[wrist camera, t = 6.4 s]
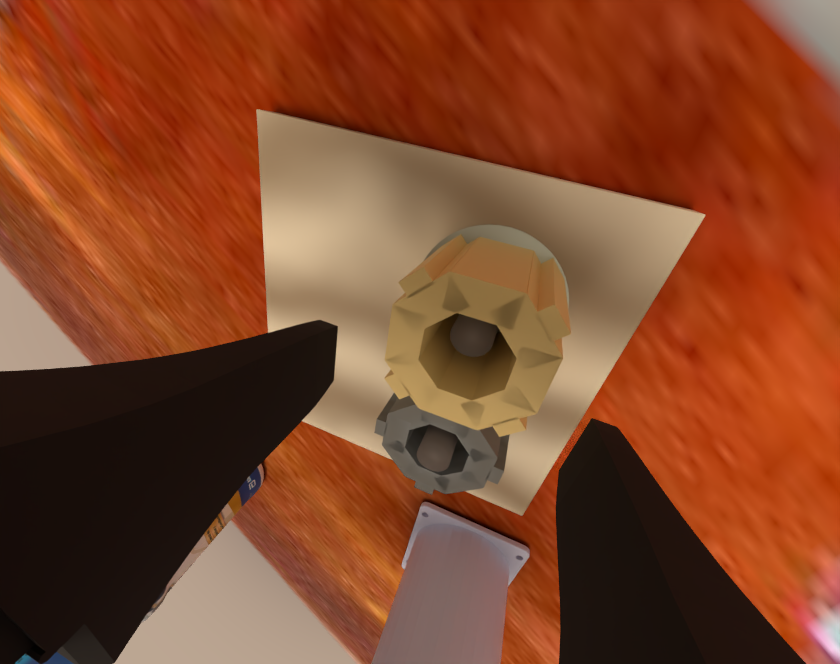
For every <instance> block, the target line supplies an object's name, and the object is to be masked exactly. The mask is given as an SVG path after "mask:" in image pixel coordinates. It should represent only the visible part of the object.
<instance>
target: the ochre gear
mask: <svg viewBox="0 0 840 664" xmlns="http://www.w3.org/2000/svg"><path fill="white" fill-rule="evenodd" d="M398 283H399V284H400V286H401V288H402V289H403V291H404V292H405V293H404V294H403V295H402V296H401V297H400V298H399V299H398V300H397V301H396V302H395V303H393V305H392V311H391V318H390V325H389V332H388V339H387V346H386V353H385V362H386V363H387V365H388V366H389V367H390V369H391V370H390V371H389V372H388V374H387V375H386V376H385V378H384V379H385V380H386V382H387V383H388V385H389V386H390V387H391V389H392V390H393V391H394V393H395V394H396V396H397V397H398V398H399V399H402V398H404V397H407V396H410V397H411V398H412V400H413V401H414V403H415V404H416V406H417V407H418V408H419V409H421V410H424V411H427V412H429V413H432V414H435V415H437V416H440V417H443V418H445V419H448V420H451V421H453V422H456V423H459V424H461V425H464V426H467V427H469V428H472V429H475V430H480V429H484V428H488V427H491V426H493V428H494V429H495V431H496V432H497V434H498V436H499V437H501V436H505V435H509V434H513V433H517V432H521V431H525V430H526V426H527V417H528V416H531V415H535V414H536V413H537V412H538V410H539V408H540V406H541V404H542V402H543V400H544V398H545V396H546V394H547V391H548V389H549V387H550V385H551V383H552V381H553V379H554V377H555V375H556V373H557V370H558V368H559V366H560V364H561V362H562V360H563V349H562V338H563V337H565V336H568V335H570V334H571V329H570V320H569V312H568V304H567V295H566V287H565V279H564V277H563V275H562V273H561V271H560V270H559V268H558V266H557V264H556V262H555V260H554V258H552V259H550V260H548V261H546V262H544V263H542V264H541V262H540V261H539V259H538V257H537V255H536V253H535V251H534V250H530V249H526V248H522V247H519V246H515V245H511V244H507V243H503V242H499V241H495V240H491V239H487V238H483V237H478V238H477V239H475V240H473V241H472V242H470V243H468V244H467V243H466V241H465V240H464V238H463V236H462V235H461V234H460V235H459V236H457V237H455V238H454V239H452V240H451V241H449V242H447V243H446V244H444V245H443V246H441V247H440V248H439V249H438V250H436V251H435V252H434V253H433V254H432V255H430V256H429V257H428V258H427V259H426V260H424V261H423V262H422V263H421V264H420V265H418V266H417V267H416V268H415V269H414V270H412V271H411V272H410V273H409V274H408V275H406V276H405V277H404V278H403V279H402V280H400V281H399V282H398ZM459 314H462V315H465V316H468V317H472V318H475V319H478V320H481V321H485V322H488V323H491V324H494V325H497V326H498V328H499V330H500V331H501V332H499V333H497V334H496V336H495V339H494V342H493V346H492V348H491V349H490V350H489V351H488V352H487V353H486V354H484V355H482V356H478V357H470V356H466V355H463V354H461V353H460V352H458V351H457V350H456V349H455V348H454V346H453V345H452V343H451V339H450V331H451V328H452V326H453V325H454V323H455V321H456V319H457V318H458V316H459Z"/></svg>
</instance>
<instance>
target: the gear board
mask: <svg viewBox="0 0 840 664" xmlns="http://www.w3.org/2000/svg"><path fill="white" fill-rule="evenodd" d="M257 126H258V146H259V165H260V184H261V204H262V223H263V242H264V262H265V281H266V300H267V320H268V333H269V332H273V331H277V330H280V329H284V328H287V327H291V326H295V325H299V324H302V323H306V322H311V321H315V320H322V321H325V322H328V323H331V324H333V325H336V326H338V334H337V347H336V360H335V373H334V381H333V383H332V384H331V385H330V387H329V388H328V390H327V391H326V393H325V394H324V395H323V397H322V398H321V399H320V401H319V402H318V403H317V405H316V406H315V407H314V408H313V409H312V410H311V412H310V413H309V414H308V415H307V416H306V417H305V418H304V419H303V420H302V421H303V422H306V423H308V424H310V425H313V426H315V427H317V428H319V429H322V430H324V431H326V432H329V433H331V434H333V435H336V436H338V437H340V438H343V439H345V440H347V441H350V442H352V443H354V444H357V445H359V446H361V447H364V448H366V449H368V450H370V451H373V452H375V453H377V454H380V455H382V456H384V457H387V458H389V459H391V460H393V461H394V462H395V464H396V465H397V466H398V468H399V469H400V470H401V472H402V473H403V474H404V476H405V477H407V478H410V479H412V480H414V481H416V483H415V486H414V487H415V488H417V489H420V490H422V491H424V492H426V493H429V494H431V495H432V493H433V490H434V489H435V490H437V491H439V492H441V493H444V494H449V493H456V492H462V491H465V492H468V493H470V494H472V495H475V496H477V497H479V498H482V499H484V500H486V501H489V502H491V503H493V504H496V505H498V506H500V507H503V508H505V509H507V510H509V511H512V512H514V513H516V514H519V515H521V516H522V515H523V514H524V512H525V510H526V509H527V507H528V506H529V504H530V502H531V501H532V499H533V497H534V496H535V494H536V492H537V491H538V489H539V488H540V486H541V484H542V483H543V481H544V479H545V478H546V476H547V474H548V473H549V471H550V470H551V468H552V466H553V465H554V463H555V461H556V460H557V458H558V456H559V455H560V453H561V451H562V450H563V448H564V447H565V445H566V443H567V442H568V440H569V438H570V437H571V435H572V433H573V432H574V430H575V429H576V427H577V425H578V424H579V422H580V420H581V419H582V417H583V415H584V414H585V412H586V410H587V409H588V407H589V406H590V404H591V402H592V401H593V399H594V397H595V396H596V394H597V392H598V391H599V389H600V388H601V386H602V384H603V383H604V381H605V379H606V378H607V376H608V374H609V373H610V371H611V370H612V368H613V366H614V365H615V363H616V361H617V360H618V358H619V356H620V355H621V353H622V351H623V350H624V348H625V347H626V345H627V343H628V342H629V340H630V338H631V337H632V335H633V333H634V332H635V330H636V329H637V327H638V325H639V324H640V322H641V320H642V319H643V317H644V315H645V314H646V312H647V310H648V309H649V307H650V306H651V304H652V302H653V301H654V299H655V297H656V296H657V294H658V292H659V291H660V289H661V288H662V286H663V284H664V283H665V281H666V279H667V278H668V276H669V274H670V273H671V271H672V270H673V268H674V266H675V265H676V263H677V261H678V260H679V258H680V256H681V255H682V253H683V251H684V250H685V248H686V247H687V245H688V243H689V242H690V240H691V238H692V237H693V235H694V233H695V232H696V230H697V229H698V227H699V225H700V224H701V222H702V220H703V219H704V217H705V214H702V213H700V212H697V211H694V210H691V209H687V208H682V207H678V206H674V205H670V204H665V203H661V202H657V201H653V200H648V199H644V198H640V197H635V196H631V195H627V194H623V193H618V192H614V191H610V190H606V189H601V188H597V187H593V186H588V185H584V184H580V183H576V182H571V181H567V180H563V179H559V178H554V177H550V176H546V175H541V174H537V173H533V172H529V171H524V170H520V169H516V168H512V167H507V166H503V165H499V164H494V163H490V162H486V161H482V160H477V159H473V158H469V157H465V156H460V155H456V154H452V153H447V152H443V151H439V150H435V149H430V148H426V147H422V146H418V145H413V144H409V143H405V142H401V141H396V140H392V139H388V138H383V137H379V136H375V135H371V134H366V133H362V132H358V131H354V130H349V129H345V128H341V127H336V126H332V125H328V124H324V123H319V122H315V121H311V120H307V119H302V118H298V117H294V116H289V115H285V114H281V113H277V112H271V111H265V110H258V109H257ZM460 234H461V235H462V236H463V238H464V240H465V241H466V243H467V244H468V243H470V242H472V241H473V240H475V239H477V238H478V237H483V238H487V239H491V240H495V241H499V242H503V243H507V244H511V245H515V246H519V247H522V248H526V249H530V250H534V251H535V253H536V255H537V257H538V259H539V261H540V262H541V264H542V263H544V262H546V261H548V260H550V259H552V258H554V260H555V262H556V264H557V266H558V268H559V270H560V271H561V273H562V275H563V277H564V279H565V287H566V295H567V304H568V312H569V320H570V329H571V334H570V335H568V336H565V337H563V338H562V349H563V360H562V362H561V364H560V366H559V368H558V370H557V373H556V375H555V377H554V379H553V381H552V383H551V385H550V387H549V389H548V391H547V394H546V396H545V398H544V400H543V402H542V404H541V406H540V408H539V410H538V412H537V413H536V414H535V415H531V416H528V417H527V426H526V430H525V431H521V432H517V433H513V434H509V435H505V436H501V437H499V436H498V434H497V432H496V431H495V429H494V428H493V426H491V427H488V428H484V429H480V430H475V429H472V428H469V427H467V426H464V425H461V424H459V423H456V422H453V421H451V420H448V419H445V418H443V417H440V416H437V415H435V414H432V413H429V412H427V411H424V410H421V409H419V408H418V407H417V406H416V404H415V403H414V401H413V400H412V398H411V397H410V396H407V397H404V398H402V399H399V398H398V397H397V396H396V394H395V393H394V391H393V390H392V389H391V387H390V386H389V385H388V383H387V382H386V380H385V379H384V378H385V376H386V375H387V374H388V372H389V371H390V370H391V369H390V367H389V366H388V365H387V363H386V362H385V353H386V346H387V339H388V332H389V325H390V318H391V311H392V305H393V303H395V302H396V301H397V300H398V299H399V298H400V297H401V296H402V295H403V294H404V293H405V292H404V291H403V289H402V288H401V286H400V284H399V283H398V282H399V281H400V280H402V279H403V278H404V277H405V276H406V275H408V274H409V273H410V272H411V271H412V270H414V269H415V268H416V267H417V266H418V265H420V264H421V263H422V262H423V261H424V260H426V259H427V258H428V257H429V256H430V255H432V254H433V253H434V252H435V251H436V250H438V249H439V248H440V247H441V246H443V245H444V244H446V243H447V242H449V241H451V240H452V239H454V238H455V237H457V236H459V235H460ZM499 332H501V331H500V330H499V328H498V326H497V325H494V324H491V323H488V322H485V321H481V320H478V319H475V318H472V317H468V316H465V315H462V314H459V316H458V318H457V319H456V321H455V323H454V325H453V326H452V328H451V331H450V339H451V343H452V345H453V346H454V348H455V349H456V350H457V351H458V352H460V353H461V354H463V355H466V356H470V357H478V356H482V355H484V354H486V353H487V352H488V351H489V350H490V349H491V348H492V346H493V342H494V339H495V336H496V334H497V333H499Z"/></svg>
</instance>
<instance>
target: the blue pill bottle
mask: <svg viewBox="0 0 840 664" xmlns="http://www.w3.org/2000/svg"><path fill="white" fill-rule="evenodd" d="M263 479H264V471H263V467H262V464H260V465H259V466H258V467H257V468H256V469H255V470H254V472H253V473H252V474H251V475H250V476H249V477H248V478H247V480H246V481H245V482H244V483H243V485H242V486H241V487H240V488H239V490H238V491H237V492H236V493H235V495H234V496H233V497H232V498H231V500H230V501H229V502H228V503H227V505H226V506H225V507H224V508H223V510H222V511H221V512H220V514H219V515H218V516H217V518H216V519H215V520H214V522H213V523H212V524H211V525H210V527H209V528H208V529H207V531H206V532H205V533H204V535H203V536H202V537H201V539H200V540H199V541H198V543H197V544H196V545H195V547H194V548H193V549H192V551H191V552H190V554H189V555H188V556H187V558H186V559H185V561H184V562H183V563H182V565H181V566H180V568H179V569H178V570H177V572H176V573H175V574H174V576H173V577H172V579H171V580H170V581H169V583H168V584H167V586H166V587H165V588H164V590H163V591H162V593H161V594H160V596H159V597H158V599H157V600H156V602H155V603H154V604H153V606H152V607H151V609H150V610H149V612H148V613H147V615H146V616H145V618H144V619H143V621H142V622H144V621H145V620H146V619H148V618H149V617H150V616H151V615H152V614H153V613H154V612H155V610H156V609H157V608H158V607H159V606H160V604H161V603H162V602H163V600H164V598H165V596H166V594H167V593H168V592H169V591H170V589H171V588H172V587H173V586H174V585H175V584H176V582H177V581H178V580H179V579H180V578H181V577H182V575H183V574H184V573H185V572H186V571H187V570H188V568H189V567H190V566H191V565H192V564H193V563H194V561H195V560H196V559H197V558H198V557H199V556H200V555H201V553H202V552H203V551H204V550H205V549H206V548H207V547H208V545H209V544H210V543H211V542H212V541H213V540H214V538H215V537H216V536H217V535H218V534H219V533H220V531H221V530H222V529H223V528H224V527H225V526H226V524H227V523H228V522H229V521H230V520H231V519H232V518H233V517H234V515H235V514H236V513H237V512H238V511H239V510H240V508H241V507H242V506H243V505H244V504H245V503H246V502H247V501H248V500H249V499H250V498H251V497H252V496H253V495H254V494H255V493H256V492H257V490H258V489H259V488H260V487H261V485H262V483H263ZM142 622H141V623H142ZM15 664H39V663H38V662H36V661H35V660H34V659H32V658H31V657H29V656H28V655H27V654H24V655H23V656H22V657H21V658H20V659H19V660H18V661H17V662H16V663H15ZM43 664H73V663H72V662H71V661H69V660H68V659H66V658H65V657H63V656H62V655H61V654H59V653H58V652H56V653H55V654H54V655H53V656H52V657H51V658H50V659H49V660H48V661H47V662H45V663H43Z"/></svg>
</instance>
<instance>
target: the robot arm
mask: <svg viewBox="0 0 840 664" xmlns="http://www.w3.org/2000/svg"><path fill="white" fill-rule="evenodd" d="M337 334H338V326H336V325H333V324H331V323H328V322H325V321H322V320H315V321H311V322H306V323H302V324H299V325H295V326H291V327H287V328H284V329H280V330H277V331H273V332H269V333H266V334H262V335H258V336H255V337H251V338H247V339H243V340H239V341H235V342H231V343H226V344H222V345H218V346H214V347H209V348H205V349H201V350H196V351H191V352H185V353H180V354H174V355H168V356H162V357H156V358H150V359H143V360H135V361H126V362H118V363H109V364H100V365H91V366H83V367H70V368H56V369H42V370H23V371H1V372H0V664H15V663H16V662H17V661H18V660H19V659H20V658H21V657H22V656H23V655H24V654H27V655H28V656H29V657H31V658H32V659H34V660H35V661H36V662H38V663H39V664H43V663H45V662H47V661H48V660H49V659H50V658H51V657H52V656H53V655H54V654H55V653H56V652H58V653H59V654H61V655H62V656H63V657H65V658H66V659H68V660H69V661H71V662H72V663H73V664H113V663H115V661H116V660H117V658H118V657H119V655H120V654H121V652H122V651H123V649H124V648H125V646H126V644H127V643H128V641H129V640H130V638H131V637H132V635H133V634H134V633H135V631H136V630H137V628H138V627H139V625H140V624H141V622H142V621H143V619H144V618H145V616H146V615H147V613H148V612H149V610H150V609H151V607H152V606H153V604H154V603H155V602H156V600H157V599H158V597H159V596H160V594H161V593H162V591H163V590H164V588H165V587H166V586H167V584H168V583H169V581H170V580H171V579H172V577H173V576H174V574H175V573H176V572H177V570H178V569H179V568H180V566H181V565H182V563H183V562H184V561H185V559H186V558H187V556H188V555H189V554H190V552H191V551H192V549H193V548H194V547H195V545H196V544H197V543H198V541H199V540H200V539H201V537H202V536H203V535H204V533H205V532H206V531H207V529H208V528H209V527H210V525H211V524H212V523H213V522H214V520H215V519H216V518H217V516H218V515H219V514H220V512H221V511H222V510H223V508H224V507H225V506H226V505H227V503H228V502H229V501H230V500H231V498H232V497H233V496H234V495H235V493H236V492H237V491H238V490H239V488H240V487H241V486H242V485H243V483H244V482H245V481H246V480H247V478H248V477H249V476H250V475H251V474H252V473H253V472H254V470H255V469H256V468H257V467H258V466H259V465H260V464H261V463H262V462H263V461H264V460H265V459H266V458H267V456H268V455H269V454H270V453H271V452H272V451H273V450H274V449H275V448H276V447H277V446H278V445H279V444H280V443H281V442H282V441H283V440H284V439H285V438H286V437H287V436H288V435H289V434H290V433H291V432H292V431H293V429H294V428H295V427H296V426H297V425H298V424H299V423H300V422H301V421H302V420H303V419H304V418H305V417H306V416H307V415H308V414H309V413H310V412H311V410H312V409H313V408H314V407H315V406H316V405H317V403H318V402H319V401H320V399H321V398H322V397H323V395H324V394H325V393H326V391H327V390H328V388H329V387H330V385H331V384H332V383H333V381H334V373H335V360H336V347H337ZM556 527H557V549H558V570H559V590H560V625H561V633H560V656H559V664H806V663H805V662H804V661H803V660H802V659H801V658H800V657H799V655H798V654H797V653H796V652H795V651H794V650H793V649H792V648H791V647H790V646H789V645H788V643H787V642H786V641H785V640H784V639H783V638H782V637H781V636H780V635H779V633H778V632H777V631H776V630H775V629H774V628H773V627H772V625H771V624H770V623H769V622H768V621H767V620H766V619H765V617H764V616H763V615H762V614H761V613H760V612H759V611H758V609H757V608H756V607H755V606H754V605H753V604H752V603H751V601H750V600H749V599H748V598H747V597H746V596H745V595H744V593H743V592H742V591H741V590H740V589H739V588H738V586H737V585H736V584H735V583H734V582H733V580H732V579H731V578H730V577H729V576H728V574H727V573H726V572H725V571H724V570H723V568H722V567H721V566H720V565H719V563H718V562H717V561H716V560H715V558H714V557H713V556H712V555H711V553H710V552H709V551H708V549H707V548H706V547H705V546H704V544H703V543H702V542H701V541H700V539H699V538H698V537H697V536H696V534H695V533H694V532H693V530H692V529H691V528H690V526H689V525H688V524H687V523H686V521H685V520H684V519H683V517H682V516H681V515H680V513H679V512H678V511H677V509H676V508H675V506H674V505H673V504H672V502H671V501H670V500H669V498H668V497H667V496H666V494H665V493H664V491H663V490H662V489H661V487H660V486H659V484H658V483H657V482H656V480H655V479H654V477H653V476H652V475H651V473H650V472H649V470H648V469H647V467H646V466H645V465H644V463H643V462H642V460H641V459H640V457H639V456H638V455H637V453H636V452H635V450H634V449H633V448H632V446H631V445H630V443H629V442H628V441H627V439H626V438H625V437H624V435H623V434H622V433H621V431H620V430H619V429H618V428H617V427H615V426H612V425H610V424H607V423H604V422H601V421H598V420H596V419H593V418H592V419H591V420H590V422H589V423H588V425H587V427H586V428H585V430H584V431H583V433H582V435H581V436H580V438H579V439H578V441H577V443H576V444H575V446H574V447H573V449H572V451H571V452H570V454H569V455H568V457H567V459H566V460H565V462H564V463H563V465H562V467H561V468H560V470H559V477H558V487H557V499H556ZM529 556H530V550H529V548H528V547H527V546H525V545H523V544H521V543H518V542H516V541H514V540H512V539H509V538H507V537H505V536H503V535H500V534H498V533H496V532H494V531H491V530H489V529H487V528H485V527H483V526H480V525H478V524H476V523H474V522H471V521H469V520H467V519H465V518H462V517H460V516H458V515H456V514H454V513H451V512H449V511H447V510H445V509H442V508H440V507H438V506H436V505H433V504H431V503H429V502H423V503H422V504H421V507H420V510H419V513H418V516H417V519H416V522H415V525H414V528H413V531H412V534H411V537H410V540H409V543H408V546H407V549H406V552H405V556H404V559H403V562H402V568H403V569H405V570H404V573H403V575H402V578H401V581H400V584H399V587H398V590H397V593H396V595H395V598H394V601H393V604H392V607H391V610H390V613H389V615H388V618H387V621H386V624H385V627H384V630H383V632H382V635H381V638H380V641H379V644H378V647H377V650H376V652H375V655H374V658H373V661H372V664H500V663H501V653H502V643H503V633H504V622H505V612H506V602H507V591H508V586H509V585H510V583H511V582H512V580H513V579H514V578H515V576H516V575H517V573H518V572H519V571H520V569H521V568H522V566H523V565H524V564H525V562H526V561H527V559H528V558H529Z"/></svg>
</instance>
